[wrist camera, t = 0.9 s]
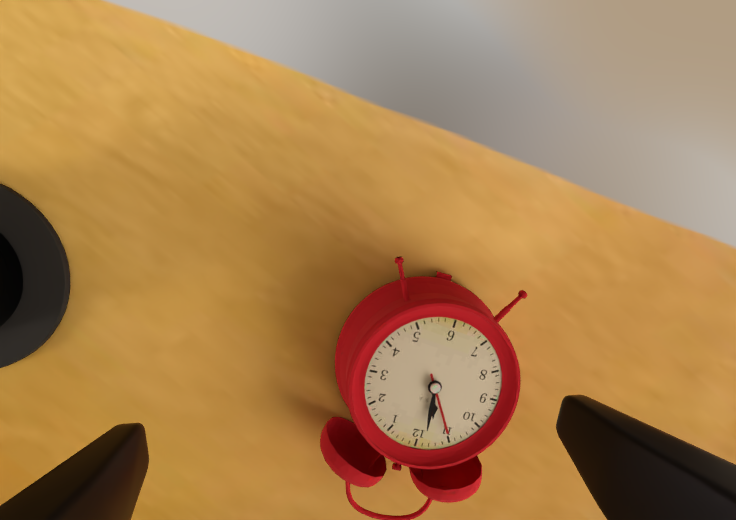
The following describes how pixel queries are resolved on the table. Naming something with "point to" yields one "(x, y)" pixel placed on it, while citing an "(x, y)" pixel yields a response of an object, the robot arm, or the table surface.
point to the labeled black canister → (9, 280)
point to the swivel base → (32, 277)
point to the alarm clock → (421, 388)
